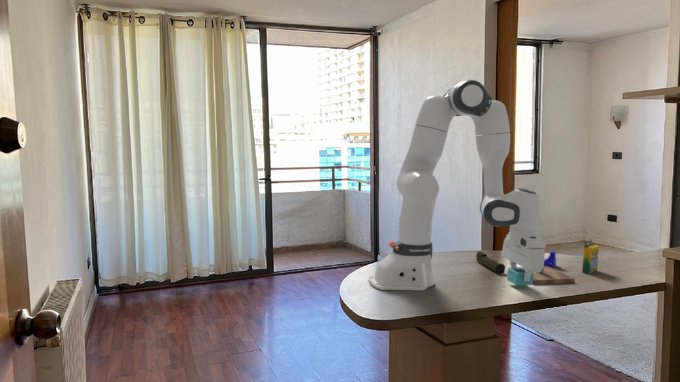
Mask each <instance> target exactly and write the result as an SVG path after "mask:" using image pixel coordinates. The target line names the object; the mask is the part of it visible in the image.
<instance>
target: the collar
mask: <svg viewBox="0 0 680 382" xmlns="http://www.w3.org/2000/svg"><path fill="white" fill-rule="evenodd" d="M525 272H526V271H525V269H524V268H512V269H509V268H507V276H506V277H507V278H506V281H508V282H510V283H512V284H513V285H514V286H532V285H533V276H534V273H532V274H531V276H530V281H524V280H523V279H522V278H523V275H524V274H525ZM533 286H534V285H533Z"/></svg>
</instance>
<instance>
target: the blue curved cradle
mask: <svg viewBox="0 0 680 382" xmlns="http://www.w3.org/2000/svg"><path fill="white" fill-rule="evenodd" d="M556 256H557V251H555V250H552V251H550V253H549V256H548V257H547V258H544V266H548V267H551V268H553V269H555V267H556V266H557V257H556Z"/></svg>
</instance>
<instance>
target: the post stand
mask: <svg viewBox="0 0 680 382" xmlns="http://www.w3.org/2000/svg"><path fill="white" fill-rule="evenodd" d="M517 268H524V267H522V266H520V267H518V266H517ZM508 269H511V267H508ZM524 269H525V268H524ZM532 273H534V276H533V286H534V285H553V284H575V282H576V279H575V277H572V276H570V275H568V274H566V273H564V272H562V271H559V270H557V269H555V268H552V267H548V266H543V269H542V271H541V272H532Z"/></svg>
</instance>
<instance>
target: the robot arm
mask: <svg viewBox="0 0 680 382" xmlns="http://www.w3.org/2000/svg"><path fill="white" fill-rule="evenodd" d="M508 115H509V114H508V111H507V108H506V105H505V104H504V103H503V102H502V101H500V100H495V99H492V97H491V96H490V94H489V92H488V91H487V89H486V87H485V86H484V84H482V83H481V82H479V81H478V80H475V79H466V80H463V81H460V82H458V83H456V84H454V85H453V86H452V87H450V88H449V89H448V90H447V91H446V92H445V93H444V95H442V96H441V95H431V96H428V97H427V98H425V99H424V100H423V103H422V104H421V106H420V109H419V112H418V115H417V118H416V121H415V125H414V128H413V131H412V137H411V140H410V145H409V147H408V150H407V152H406V156H405V158H404V161H403V163H402V166H401V169H400V172H399V174H398V176H397V179H396V187H397V190H398V192H399V193H400V195H401V196H402V205H401V210H400V215H399V218H398V219H399V221H398V222H399V223H398V240H397V241H396V242H394V241H393V240H389V242H388V247H390V248H392V252H391V253H389V254H388V255H386V257H384V258H383V259H381V260H380V261H378V262H377V265H376V267H375V271H374V272H375V274H370V275H369V277H368V283H369V284H370V285H371V287H373V288H375V289H377V290H381V291H382V290H383V291H426V290H427V289H428V288H430V287H433V286H434V285H435V278H434V274H433V266H432V258H433V252H434V249H433V242H432V231H433V230H432V229H433V219H434V218H433V217H434V212H435V208H436V201H437V197H438V195H439V192H440V186H439V185H440V184H439V182H438V181H437V178H436V177H435V176H434V175H433V174H434V171H435V169H436V166H437V164H438V162H440V161H439V160H440V159H441V158H442V156H443V152H444V148H445V144H446V142H447V141H446V140H447V138H448V137H447V136H448V133H449V129H450V125H451V122H452V120H453V118H454V117H461V116H462V117H463V116H464V117H465V116H468V117H470V118H471V119H472V121H473V124H474V134H475V138H474V139H475V143H476V144H475V145H476V150H477V153H478V156H479V157H478V158H479V159H480V160H479V161H480V162H481V165H482V170H483V186H484V187H483V189H484V190H483V191H484V192H483V195H482V199H481V202H480V205H479V211H480V215H481V217H482V218H483V219H484V220H485V221H486V223H488V224H489V225H491V227H508V226H509V232H508V233H507V234H506V235H505V236H506V237H505V238H504V240H503V244H502V257H503V258H505V260H508V261H509V267H510V268H511V269H512V268H517V267H518V266H520V267H524V268H525V271H526V272H525V274H524V275H523V278H522V279H523V280H524V281H530V276H531V274H532V272H541V271H542V269H543V266H544V260H545V250H544V249H545V248H546V246H547V241H545V239H544V238H543V237H542V236H541V235H540V234H539V226H538V221H539V218H540V210H541V209H540V208H541V207H540V205H541V204H540V203H541V202H540V198H539V195H538V194H537V193H536V192H535V191H533V190H530V189H525V188H520V187H519V188H515V189H514V190H512V191H510V192H508V193H506V194H505V193H504V185H503V181H504V180H503V179H504V178H503V167H504V164H505V161H506V159H507V158H508V156H509V153H510V149H511V148H510V147H511V133H510V132H511V129H510V128H511V127H510V121H509V116H508ZM517 265H518V266H517Z"/></svg>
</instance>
